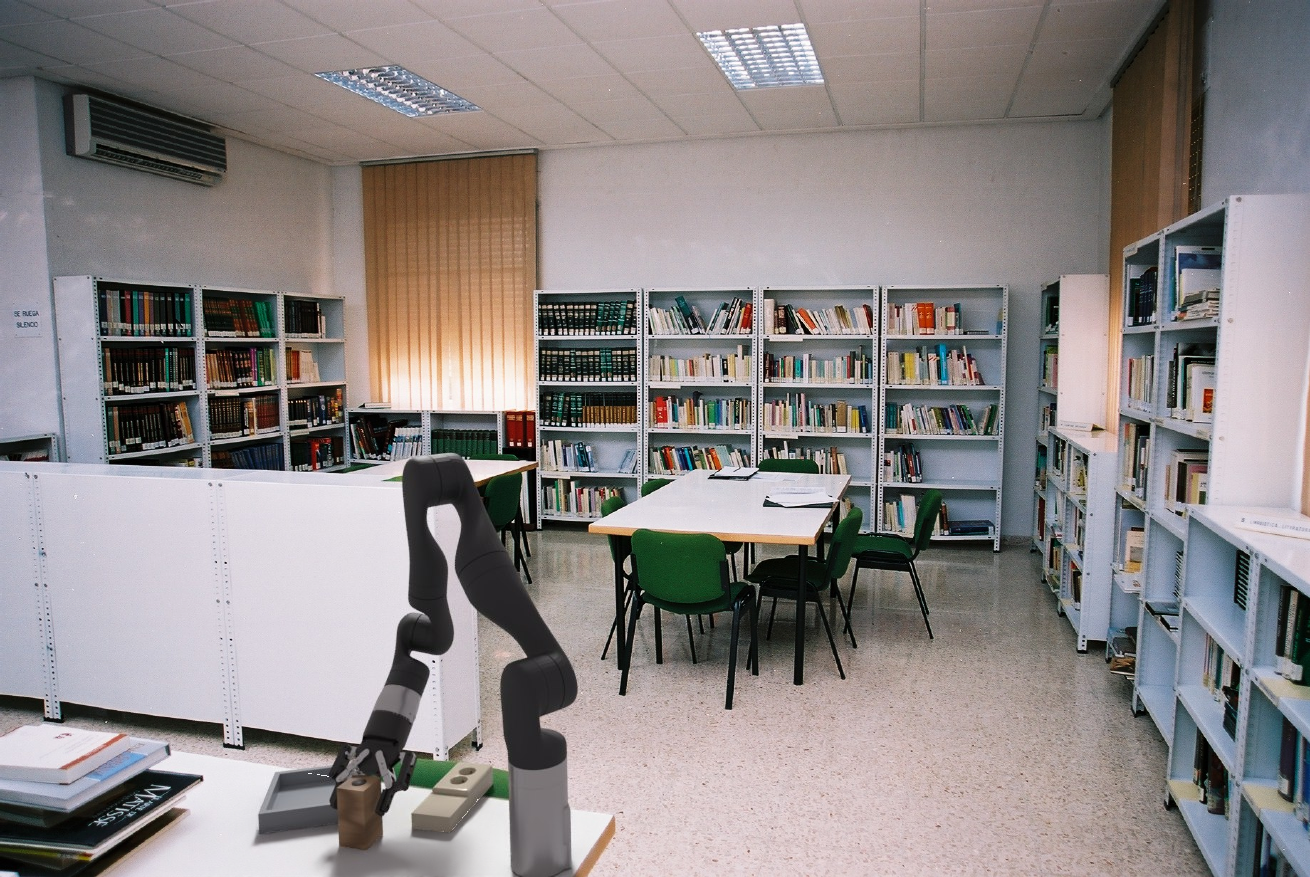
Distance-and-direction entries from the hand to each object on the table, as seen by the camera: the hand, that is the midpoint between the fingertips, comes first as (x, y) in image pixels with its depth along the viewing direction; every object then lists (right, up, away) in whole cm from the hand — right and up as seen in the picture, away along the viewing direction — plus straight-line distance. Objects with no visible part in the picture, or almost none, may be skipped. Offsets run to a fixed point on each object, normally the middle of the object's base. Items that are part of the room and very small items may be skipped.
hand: (356, 811), depth 139 cm
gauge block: (0, -5, +1) cm, 6 cm away
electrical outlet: (+13, -5, +13) cm, 19 cm away
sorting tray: (-12, -5, +13) cm, 19 cm away
